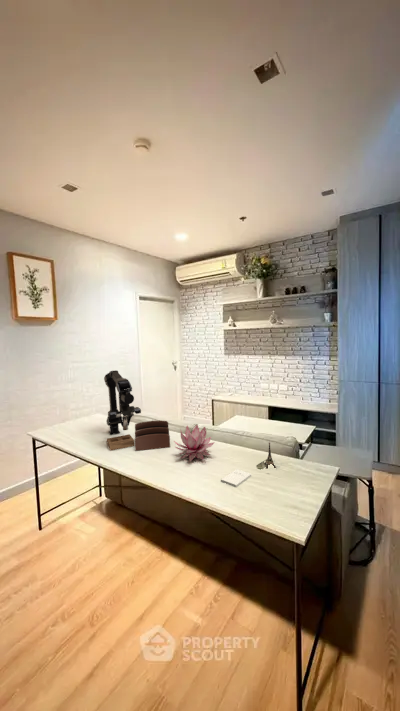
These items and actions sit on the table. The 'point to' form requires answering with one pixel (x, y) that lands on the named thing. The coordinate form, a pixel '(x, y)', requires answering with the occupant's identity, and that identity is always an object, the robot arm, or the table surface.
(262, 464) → the eiffel tower figurine
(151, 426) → the letter holder
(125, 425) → the pin
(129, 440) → the block
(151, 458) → the table surface
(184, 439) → the decorative flower
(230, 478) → the external hard drive
